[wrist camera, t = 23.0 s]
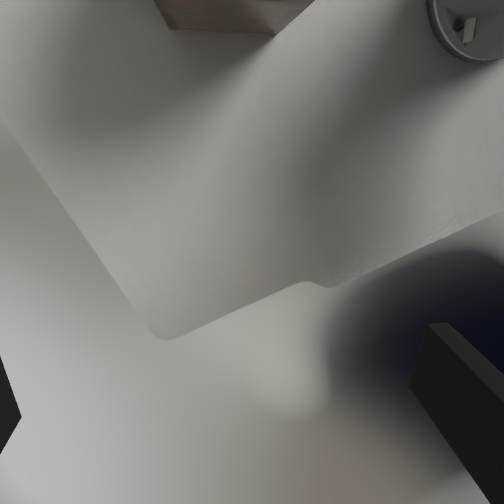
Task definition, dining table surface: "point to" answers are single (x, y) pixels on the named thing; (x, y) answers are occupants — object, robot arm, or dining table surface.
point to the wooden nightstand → (231, 15)
